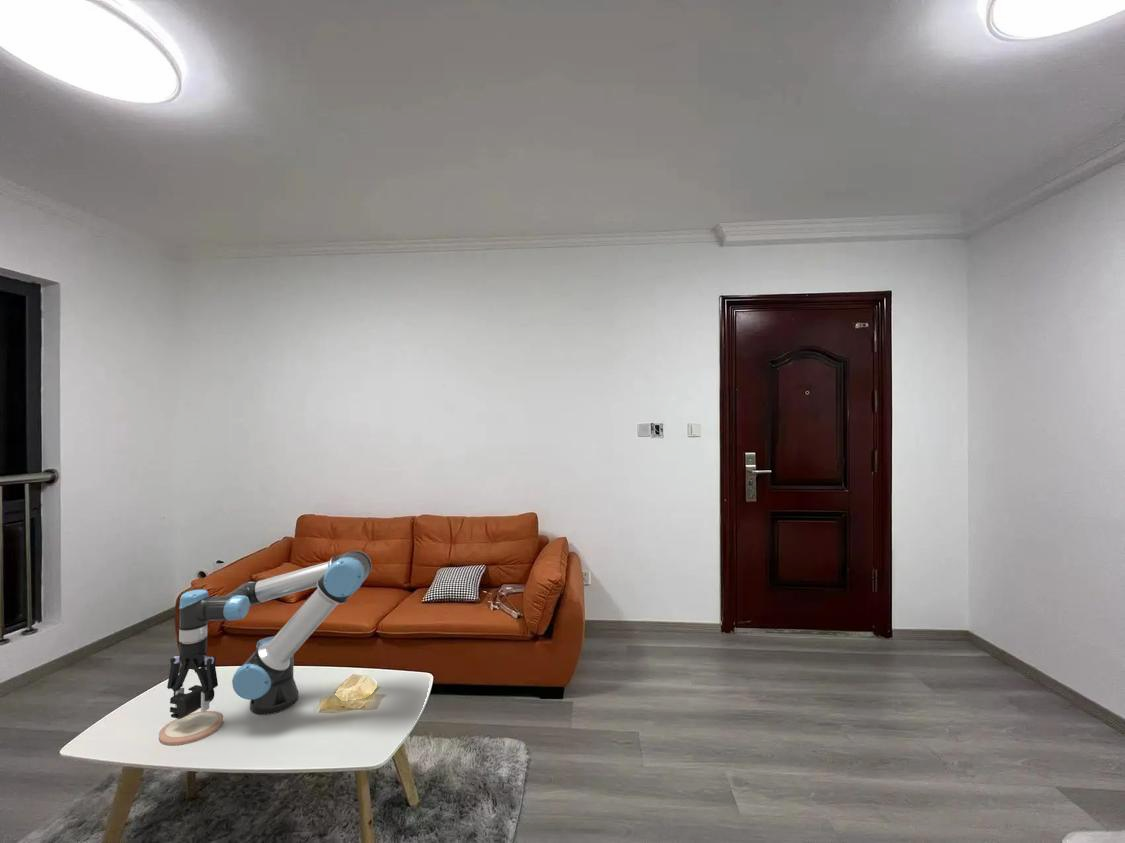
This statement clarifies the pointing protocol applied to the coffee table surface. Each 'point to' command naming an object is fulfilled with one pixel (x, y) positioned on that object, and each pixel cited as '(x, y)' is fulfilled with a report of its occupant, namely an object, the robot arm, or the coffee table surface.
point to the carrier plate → (191, 728)
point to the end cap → (187, 702)
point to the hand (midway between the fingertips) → (192, 710)
